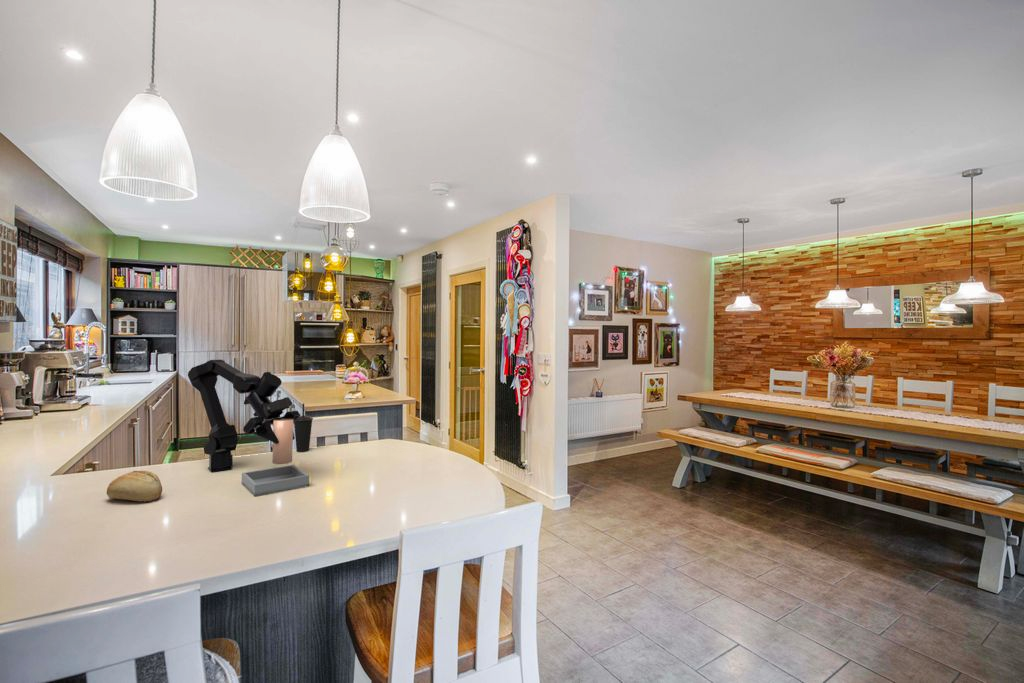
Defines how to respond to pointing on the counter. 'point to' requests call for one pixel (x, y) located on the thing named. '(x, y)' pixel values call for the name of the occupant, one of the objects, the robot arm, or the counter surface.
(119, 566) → the counter surface
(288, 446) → the canister
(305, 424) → the drinking cup
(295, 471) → the tray
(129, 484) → the bread roll
